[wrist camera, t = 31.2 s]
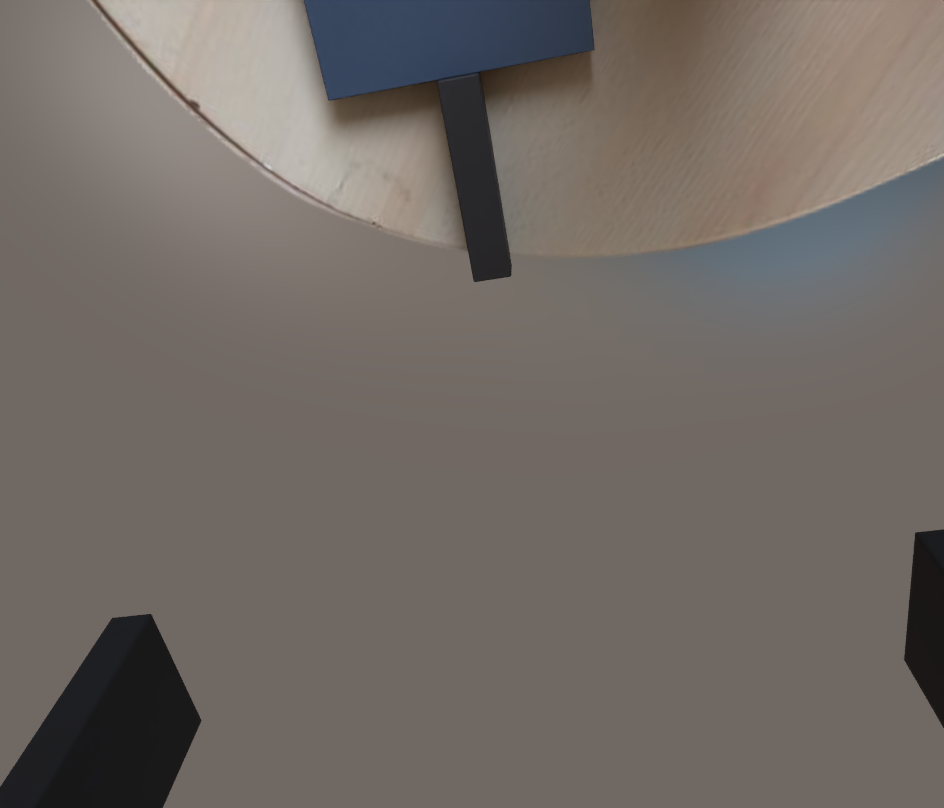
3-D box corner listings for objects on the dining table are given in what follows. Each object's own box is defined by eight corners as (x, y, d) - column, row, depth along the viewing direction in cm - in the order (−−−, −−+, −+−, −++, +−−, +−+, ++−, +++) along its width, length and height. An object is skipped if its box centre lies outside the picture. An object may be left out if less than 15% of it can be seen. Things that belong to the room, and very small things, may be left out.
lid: (378, 287, 44) (373, 298, 42) (268, -165, 34) (256, -173, 33) (613, 250, 42) (616, 260, 40) (564, -236, 33) (566, -248, 31)
